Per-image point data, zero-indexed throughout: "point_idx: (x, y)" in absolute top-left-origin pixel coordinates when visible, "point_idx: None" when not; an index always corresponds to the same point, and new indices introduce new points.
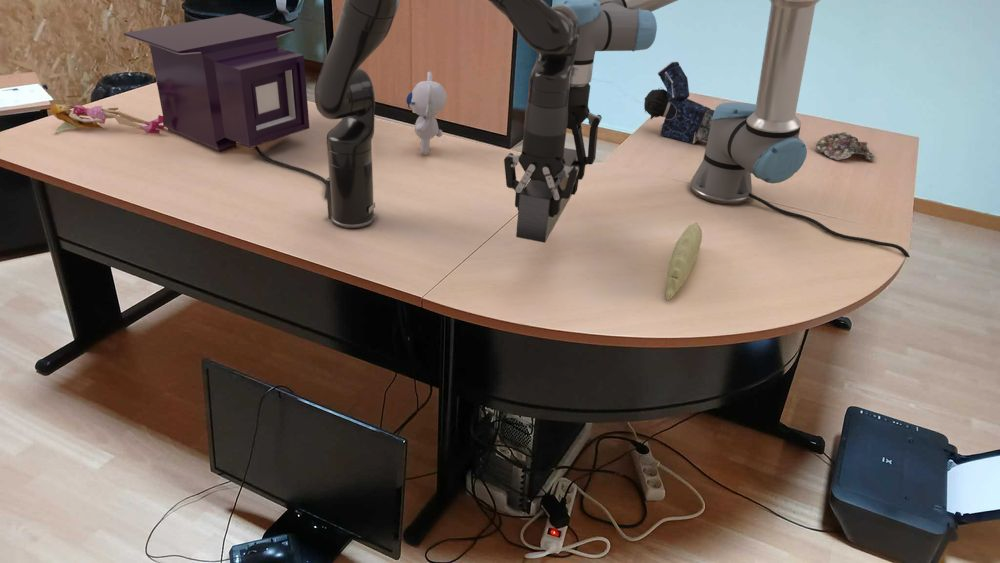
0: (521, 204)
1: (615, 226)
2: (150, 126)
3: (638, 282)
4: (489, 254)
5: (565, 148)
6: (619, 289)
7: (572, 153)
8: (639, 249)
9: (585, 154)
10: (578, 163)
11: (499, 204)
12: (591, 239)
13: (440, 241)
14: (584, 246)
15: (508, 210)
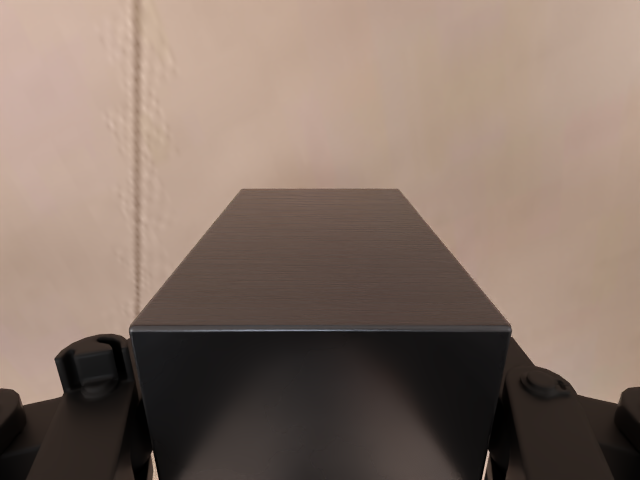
0: None
1: (536, 8)
2: None
3: (591, 350)
4: None
5: (304, 346)
6: None
7: (424, 453)
8: (617, 166)
9: (593, 445)
10: (487, 469)
11: (31, 12)
12: (447, 162)
13: (27, 352)
14: (429, 220)
15: (91, 55)
